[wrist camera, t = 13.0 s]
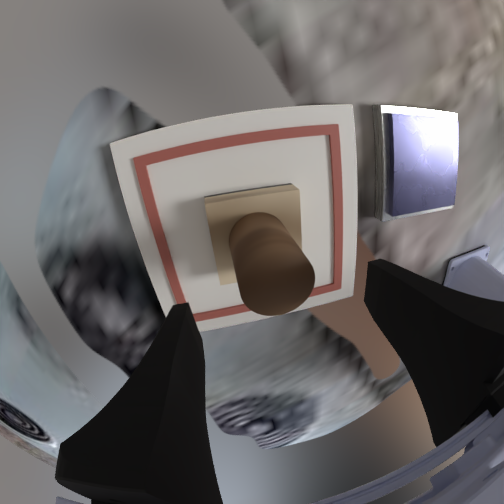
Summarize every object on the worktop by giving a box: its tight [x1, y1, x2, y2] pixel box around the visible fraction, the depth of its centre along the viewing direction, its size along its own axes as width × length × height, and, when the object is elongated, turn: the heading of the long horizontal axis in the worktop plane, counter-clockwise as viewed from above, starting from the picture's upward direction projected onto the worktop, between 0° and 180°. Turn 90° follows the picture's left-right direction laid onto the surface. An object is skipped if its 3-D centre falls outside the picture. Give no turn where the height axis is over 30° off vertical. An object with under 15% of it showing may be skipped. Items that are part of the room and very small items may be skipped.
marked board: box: [110, 104, 357, 332], centre depth 17 cm, size 14×14×1 cm
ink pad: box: [372, 105, 458, 222], centre depth 16 cm, size 8×8×2 cm
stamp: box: [204, 183, 315, 316], centre depth 14 cm, size 5×5×6 cm
